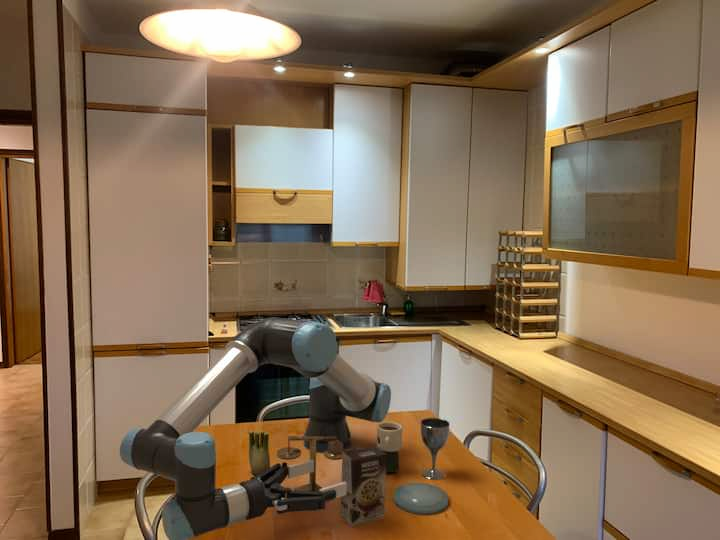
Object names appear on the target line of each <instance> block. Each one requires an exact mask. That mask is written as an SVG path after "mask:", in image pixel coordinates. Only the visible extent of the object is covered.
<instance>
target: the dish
mask: <svg viewBox="0 0 720 540" xmlns="http://www.w3.org/2000/svg"><path fill="white" fill-rule="evenodd" d="M393 502H394V504H395V506H397V507H398V508H399V509H401V510H403V511H405V512H408V513H411V514H414V515H423V516H425V515H434V514H438V513H441V512H443V511H445V510H446V509H447V508H448V506H449V495H448V492H446V491H445V490H444V489H442V488H441V487H439V486H437V485H434V484H430V483H425V482H411V483H406V484H402V485H400V486H398V487H397V488H395V490H394V491H393Z"/></svg>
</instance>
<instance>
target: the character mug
mask: <svg viewBox="0 0 720 540" xmlns="http://www.w3.org/2000/svg"><path fill="white" fill-rule="evenodd" d="M376 426H377V427H376V447H377V448H379V449H380V450H382V451H383V452H384V453H386V474H387V473H388V474H389V473H396V472H399V471H400V467H401V466H400V458H399V457H400V456H399V452H398V451H400V450H402V443H403V425H401V424H400V423H398V422H392V421H382V422H379V423H378V424H377V425H376Z"/></svg>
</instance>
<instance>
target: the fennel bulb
mask: <svg viewBox="0 0 720 540" xmlns="http://www.w3.org/2000/svg"><path fill="white" fill-rule="evenodd" d="M248 436H249V437H248V440H249V441H248V442H249V447H248V458H249V459H248V460H249V467H250V469H251V471H252V474H254V475H255V476H257V475H259V474H261V473H262V472H264V471H266V470H267V469H269V468H270V467H271V457H270V452H269V451H270V450H269V438H270V434H269V433H268V432H265V431H264V430H261V431H254V430H250V431H249V432H248Z"/></svg>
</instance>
